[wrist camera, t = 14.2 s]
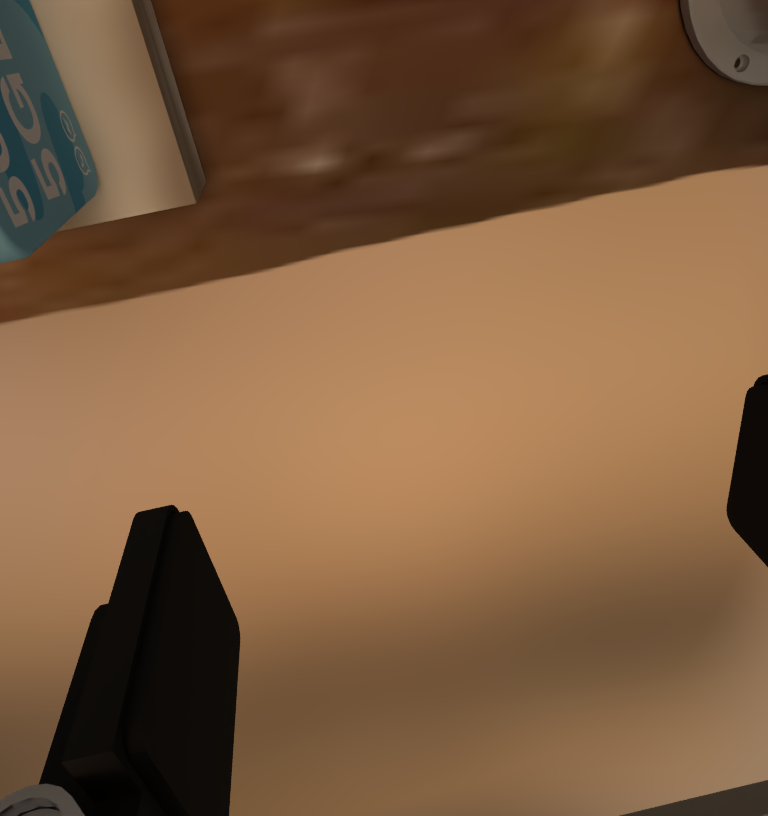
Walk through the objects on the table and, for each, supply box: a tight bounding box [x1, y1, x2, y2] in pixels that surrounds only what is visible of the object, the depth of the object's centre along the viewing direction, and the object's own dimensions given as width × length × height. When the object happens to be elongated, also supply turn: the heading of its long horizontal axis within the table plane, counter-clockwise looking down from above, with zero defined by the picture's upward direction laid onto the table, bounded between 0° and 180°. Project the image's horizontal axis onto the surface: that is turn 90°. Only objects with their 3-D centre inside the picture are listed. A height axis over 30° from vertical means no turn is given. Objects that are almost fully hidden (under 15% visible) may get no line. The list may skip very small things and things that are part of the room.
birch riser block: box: [29, 0, 206, 232], centre depth 29 cm, size 13×15×5 cm
